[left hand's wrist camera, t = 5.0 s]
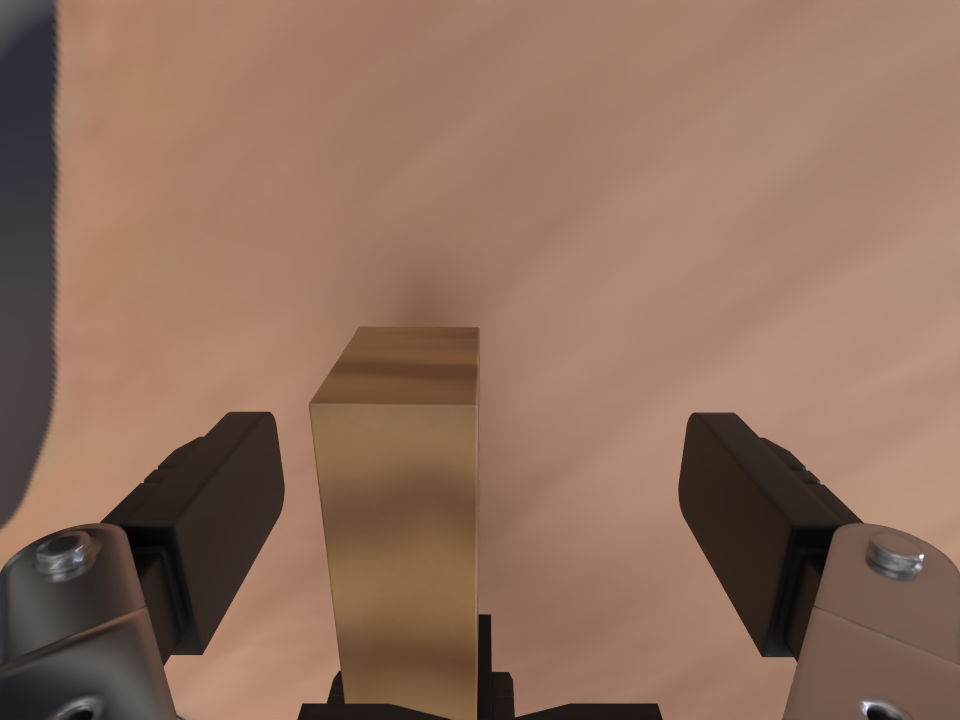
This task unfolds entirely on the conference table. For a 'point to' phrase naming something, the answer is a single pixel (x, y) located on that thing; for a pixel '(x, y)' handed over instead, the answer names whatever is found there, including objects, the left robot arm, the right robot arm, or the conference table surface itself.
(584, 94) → the conference table surface
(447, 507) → the bar
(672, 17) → the conference table surface
